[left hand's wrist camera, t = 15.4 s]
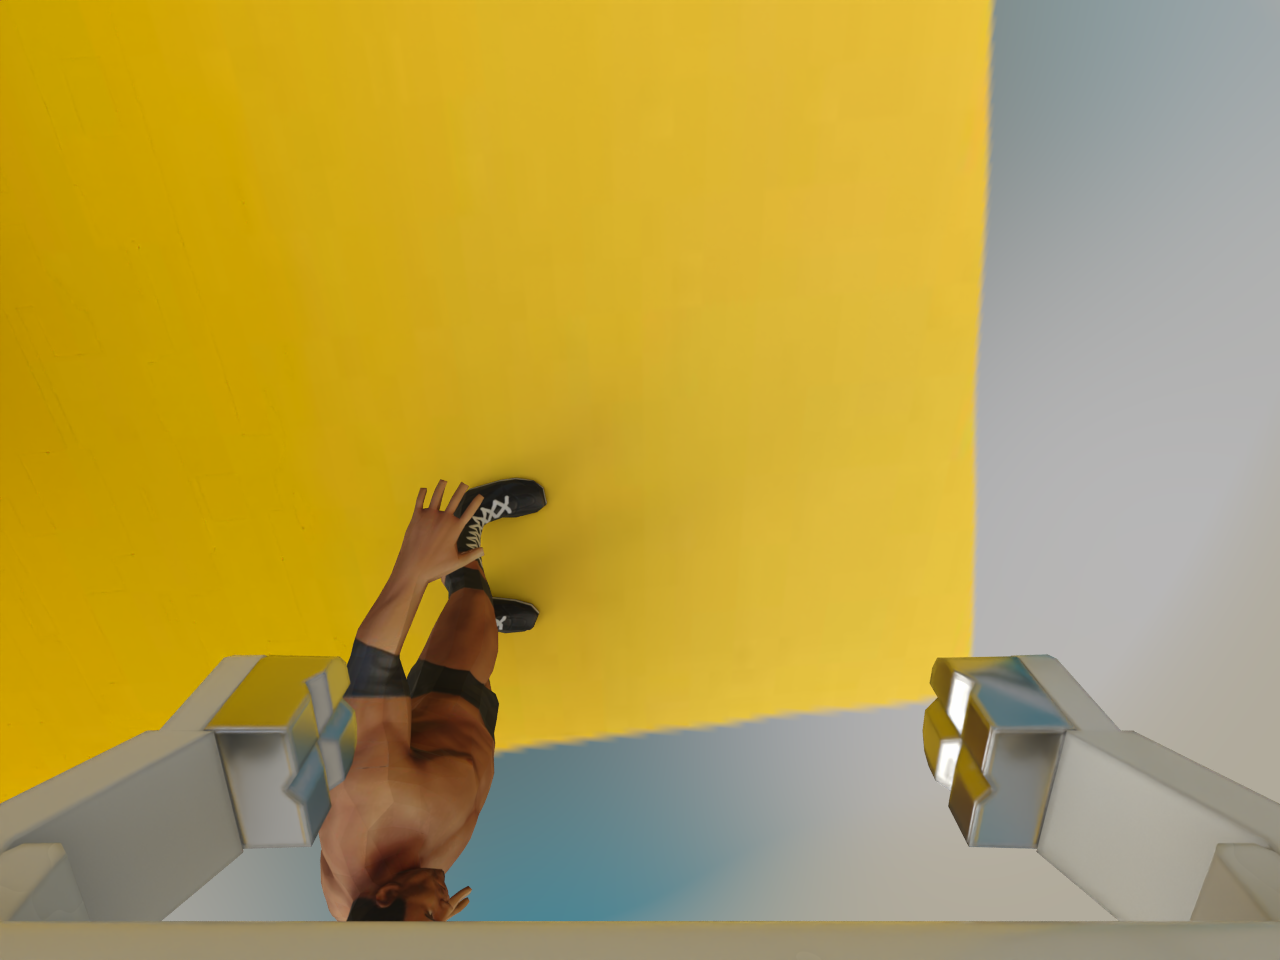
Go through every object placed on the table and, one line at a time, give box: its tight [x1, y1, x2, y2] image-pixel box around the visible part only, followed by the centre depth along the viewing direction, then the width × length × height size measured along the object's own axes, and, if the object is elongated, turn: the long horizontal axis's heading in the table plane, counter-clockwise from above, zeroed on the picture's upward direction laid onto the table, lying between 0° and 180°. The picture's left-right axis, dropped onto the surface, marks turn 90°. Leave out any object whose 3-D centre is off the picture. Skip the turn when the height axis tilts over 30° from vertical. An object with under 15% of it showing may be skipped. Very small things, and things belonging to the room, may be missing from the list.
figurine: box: [319, 478, 547, 921], centre depth 38 cm, size 24×6×30 cm, turn 174°
